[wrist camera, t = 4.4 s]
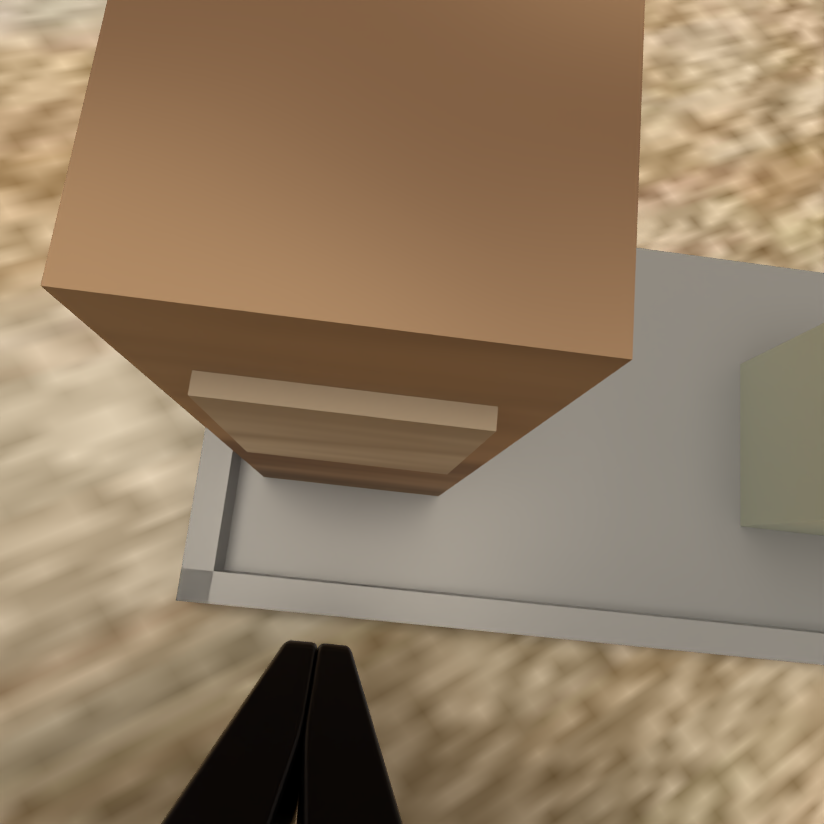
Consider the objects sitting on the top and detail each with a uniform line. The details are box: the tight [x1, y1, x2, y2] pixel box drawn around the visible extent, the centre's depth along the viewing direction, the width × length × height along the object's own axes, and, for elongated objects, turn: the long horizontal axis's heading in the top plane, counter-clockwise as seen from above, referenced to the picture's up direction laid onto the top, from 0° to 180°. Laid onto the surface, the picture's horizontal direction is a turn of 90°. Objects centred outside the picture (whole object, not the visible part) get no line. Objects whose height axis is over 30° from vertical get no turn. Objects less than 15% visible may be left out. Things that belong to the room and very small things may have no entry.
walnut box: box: [41, 0, 645, 496], centre depth 13 cm, size 5×5×14 cm
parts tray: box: [176, 248, 824, 665], centre depth 20 cm, size 12×22×2 cm, turn 84°
